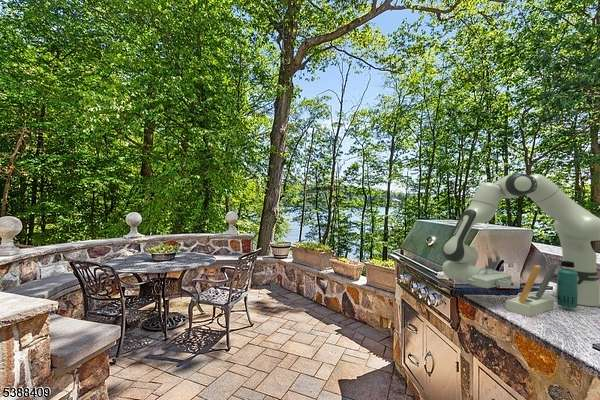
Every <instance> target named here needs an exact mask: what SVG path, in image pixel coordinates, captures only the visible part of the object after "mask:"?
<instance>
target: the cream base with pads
mask: <svg viewBox="0 0 600 400" xmlns="http://www.w3.org/2000/svg"><path fill="white" fill-rule="evenodd" d="M535 295H536V293H535V294H534V293H532V292H530V293H529V295H528V297H527V299H526V301H525V302H522V303H521V302H520V301H518V300H519V298H520V296H521V295H519V296H517V297H513V298H510V299H506V300H505V301H506V304H505V305H506V307H505V308H506V309H505V310H506V311H508V312H513V313H514V314H515V313H516V314H517V315H521V316H525V317H527V318H530V317H533V316H536V315H538V314H541V313H543V312H547V311H549V310H552V309H554V298H551V297H547V296H542V297H537V296H535Z"/></svg>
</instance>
